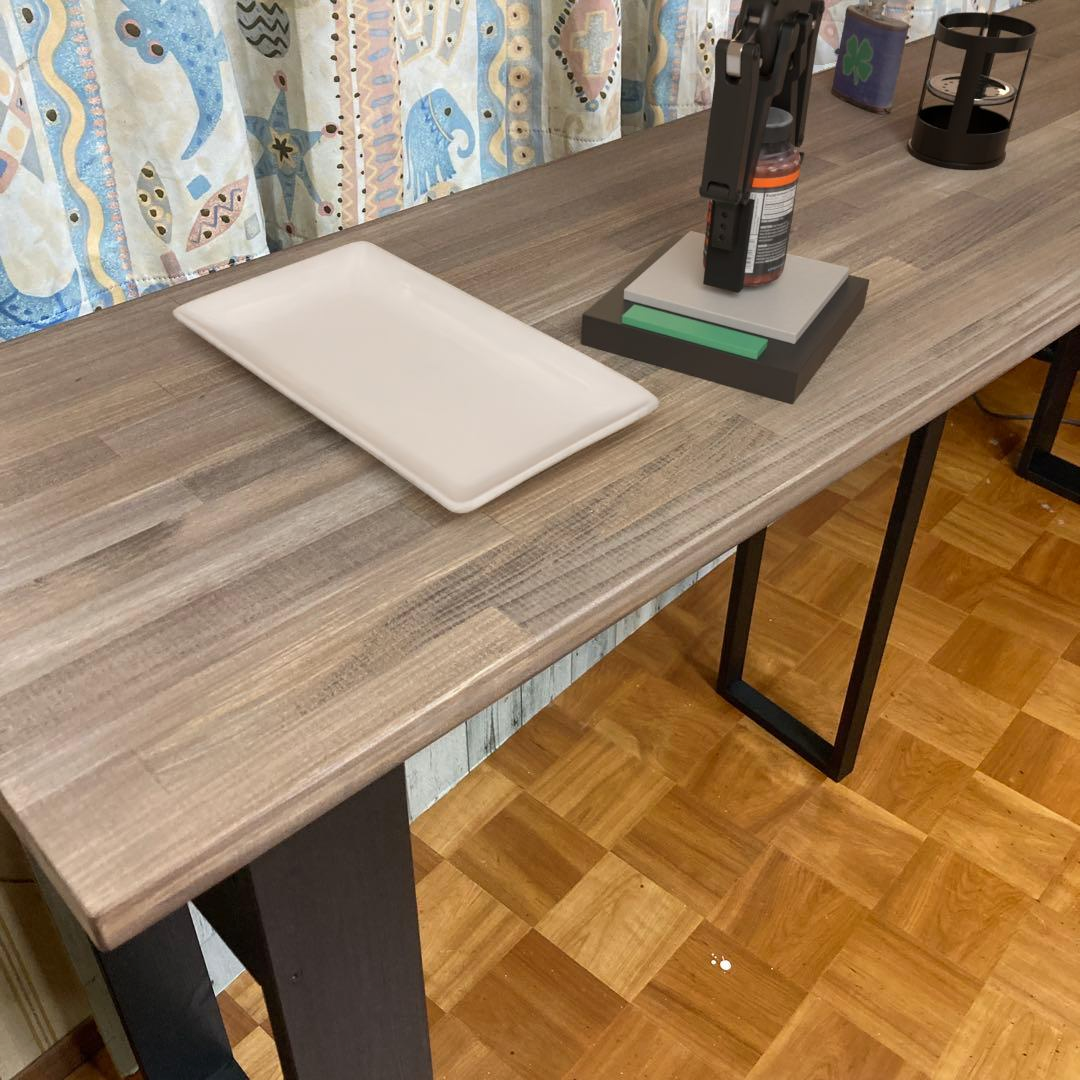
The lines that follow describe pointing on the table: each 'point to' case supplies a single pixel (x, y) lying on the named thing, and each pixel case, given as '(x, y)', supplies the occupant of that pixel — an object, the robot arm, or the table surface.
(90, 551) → the table surface
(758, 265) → the supplement bottle
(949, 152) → the french press
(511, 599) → the table surface
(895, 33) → the flask
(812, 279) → the scale
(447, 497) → the tray
